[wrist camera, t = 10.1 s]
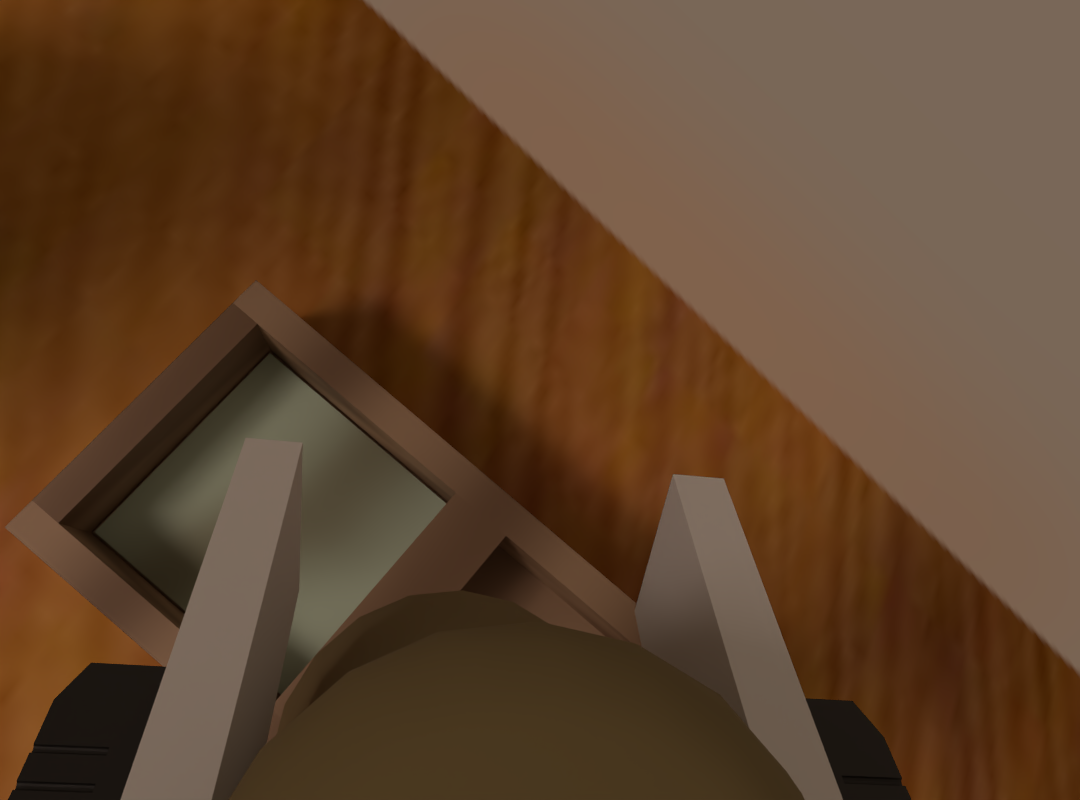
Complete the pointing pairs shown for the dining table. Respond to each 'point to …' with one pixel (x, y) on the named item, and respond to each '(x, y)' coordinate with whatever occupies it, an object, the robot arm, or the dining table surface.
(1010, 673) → the dining table surface
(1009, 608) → the dining table surface
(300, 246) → the dining table surface
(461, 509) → the stand
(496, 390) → the dining table surface
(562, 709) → the cork
